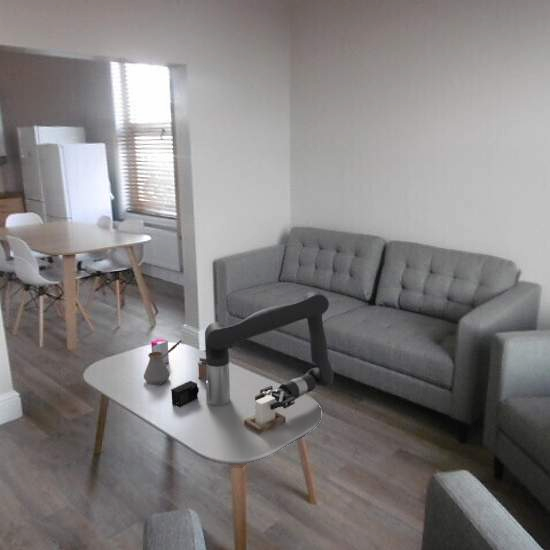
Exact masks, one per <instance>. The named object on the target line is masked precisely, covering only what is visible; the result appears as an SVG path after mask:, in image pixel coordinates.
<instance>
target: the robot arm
mask: <svg viewBox="0 0 550 550" xmlns="http://www.w3.org/2000/svg"><path fill="white" fill-rule="evenodd" d="M329 305H330V302H329V299H328V298H327V297H326V295H324V294H323V293H321V292H318V291H316V290H312V291H309V292H307V293H306V294H305V295H304V297H303V299H302V300H299V301H296V302H294V303H289V304H281V305H280V304H279V305H275V306H274V305H273V306H270V307H267V308H263V309H260V310H257V311H256V312H254V313H252V314H251V315H248V316H247V317H246V318H244V319H242V320H241V321H240V322H238V323H236V324H235V323H234V324H232V325H229V326H226V325H225V324H224V323H221V322H219V321H218V322H217V321H216V322H215V321H214V322H212V323H210V324H208V326H207V327H206V328H205V332H204V343H205V344H204V345H205V348H204V349H205V351H204V352H205V359H206V367H207V381H206V382H205V391H206V392H205V393H206V394H205V395H206V404H207V405H208V404H209V405H211V406H217V407H218V406H221V407H222V406H225V405H227V404H229V403H230V400H231V393H230V392H231V387H230V385H231V384H230V381H231V380H230V353H229V347H231V346H233V345H234V344H237V343H240V342H242V341H244V340H248V339H251V338H253V337H256V336H259V335H262V334H266V333H269V332H273V331H275V330H277V329H280V328H282V327H285V326H288V325H290V324H293V323H296V322H298V321H302V320H305V319H306V320H307V326H308V333H309V334H308V335H309V346H310V349H309V350H310V358H311V359H310V360H311V363H313V364H314V365H316V366H317V367H313V368H310V369H309V370H308V371H307V372H306V373H305V374H304V375H302V376H299V377H296V378H292V379H290V380H288V381H286V382H283V383H282V384H280V385H279V386H278V388H273V386H272V385H269V386H266V387H264V388H261V389H259V394H257V395H255V396H254V402H255V401H256V400H258V399H261V398H263V397H265V396H268V395H270V396H272V397H274V398H275V402H274V403H272V404H270V409H271V410H273V409H275V410H276V409H278V408H282V409H286V410H287V409H288V408H289V407H291V406H293V405H294V404H295V403H296V400H297V399H300V398H301V397H303V396H304V395H306V394H309V393H310V392H312V391H314V389H316V387H317V385H318V386H321V387H324V388H326V387H327V388H328V387H330V386H331V385H332V384H333V382H334V378H335V377H334V376H335V375H334V371H333V368H332V365H331V361H330V360H329V354H328V353H329V352H328V343H327V337H326V334H325V329H324V321H323V315H324V314H325V313H326V312H327V311H328V309H329Z"/></svg>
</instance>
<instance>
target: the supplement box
mask: <svg viewBox="0 0 550 550" xmlns="http://www.w3.org/2000/svg"><path fill="white" fill-rule="evenodd" d="M150 344H151V345H150V346H151V353H152V352H162V353H163V355H164V354H166V353H167V352H168V351H169V341H168V340H167V339H163V338H157V339H154V340H152V341H151V342H150ZM169 356H170V355H169V353H168V354H167V355H166V356H165V357H164V358H163V359H162V360H163V361H164V363H165V365H167V364H169V362H170V361H169V360H170V359H169V358H170V357H169Z"/></svg>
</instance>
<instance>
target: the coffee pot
mask: <svg viewBox="0 0 550 550" xmlns="http://www.w3.org/2000/svg"><path fill="white" fill-rule="evenodd" d="M180 343H181V344H184V341H183V340H181V339H180V340H179V341H178V342H176V343H175V344H174V345H172V346H171V347H170V349H168V352H167V353H166V354H164V355H163V353H162V352H152V351H151V352H150V353H148V357H149V360H148V364H147V366H146V368H145V371H144V374H143V379H144V380H145V382H146V383H148V384H150V385H153V386H154V385H155V386H158V385H162V384H164V383H166V382H167V381H168V379H169V378H170V375H171V373H170V370H169V369H168V367H167V364H165V363H164V361H163V360H162V359H163V358H164V357H165V356H166V355H167V354H168V355H169V354H170V353H172V351H174V349H176V348H177V346H179V345H180Z"/></svg>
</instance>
